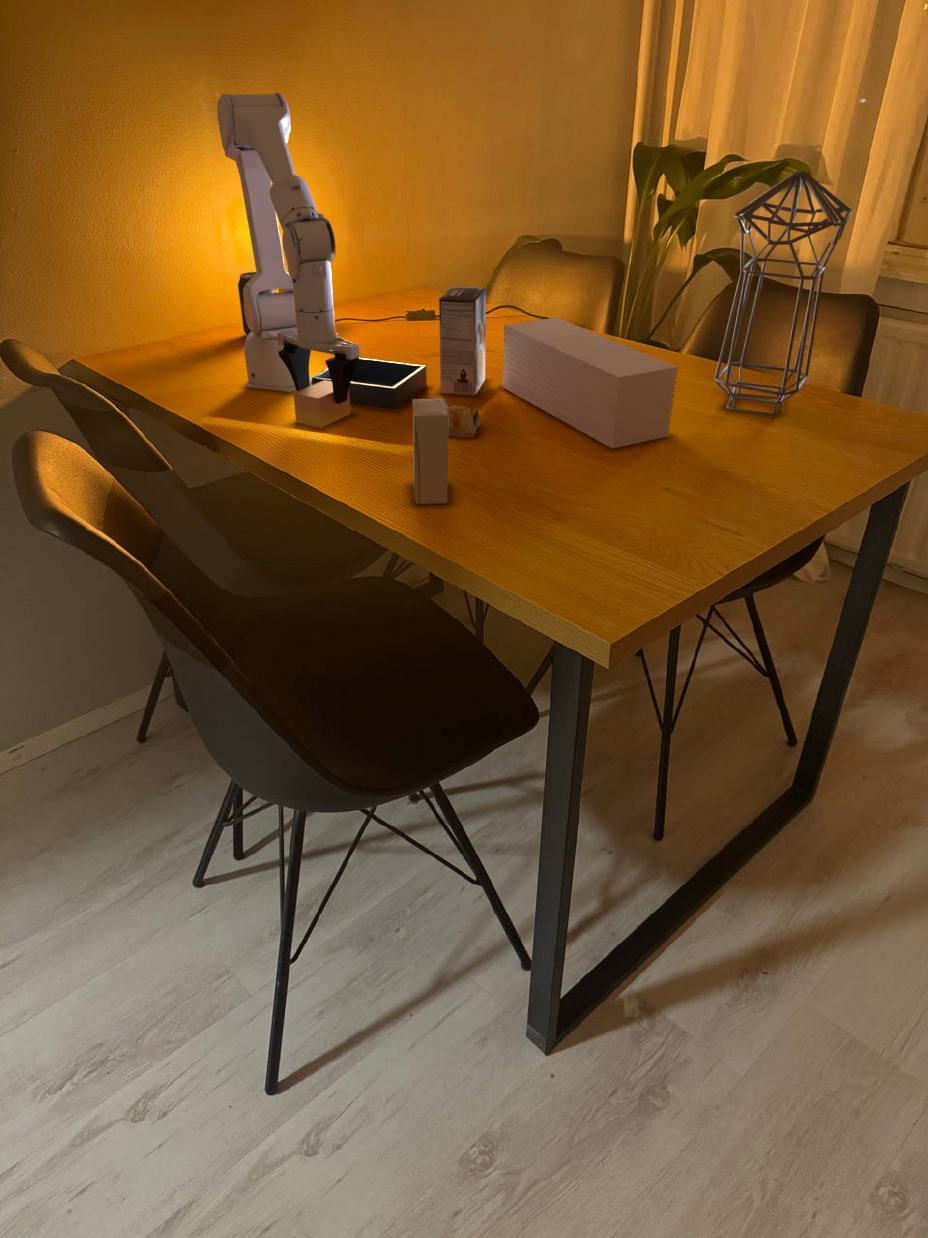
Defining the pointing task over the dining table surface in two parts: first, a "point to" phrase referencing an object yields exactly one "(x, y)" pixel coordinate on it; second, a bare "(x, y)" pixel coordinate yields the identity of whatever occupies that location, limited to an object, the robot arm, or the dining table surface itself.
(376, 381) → the storage box
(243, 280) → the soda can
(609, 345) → the stack of papers
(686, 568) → the dining table surface
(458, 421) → the pastry
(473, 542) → the dining table surface
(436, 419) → the cosmetic box
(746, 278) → the geometric lantern
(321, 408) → the pink rectangular block
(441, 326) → the coffee box
